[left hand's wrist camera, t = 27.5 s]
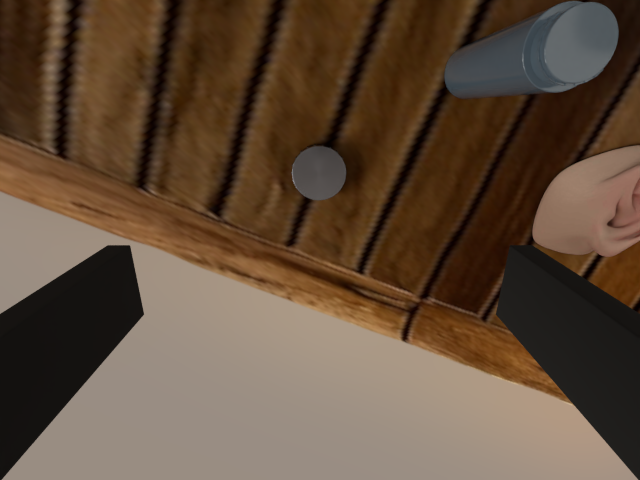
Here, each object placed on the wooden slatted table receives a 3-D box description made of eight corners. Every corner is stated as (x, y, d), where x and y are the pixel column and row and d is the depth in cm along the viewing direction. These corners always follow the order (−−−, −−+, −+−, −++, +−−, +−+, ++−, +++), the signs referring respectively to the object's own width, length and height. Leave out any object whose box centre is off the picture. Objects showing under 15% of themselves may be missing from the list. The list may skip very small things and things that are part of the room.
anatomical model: (551, 276, 36) (560, 166, 33) (530, 261, 40) (535, 161, 36) (684, 257, 36) (709, 143, 32) (650, 243, 39) (668, 139, 36)
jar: (434, 72, 34) (519, 44, 19) (474, 32, 32) (597, -31, 18) (464, 109, 35) (567, 109, 20) (504, 71, 34) (643, 42, 19)
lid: (351, 188, 38) (352, 192, 36) (301, 203, 38) (300, 207, 36) (337, 136, 36) (338, 138, 34) (285, 153, 36) (283, 154, 35)
